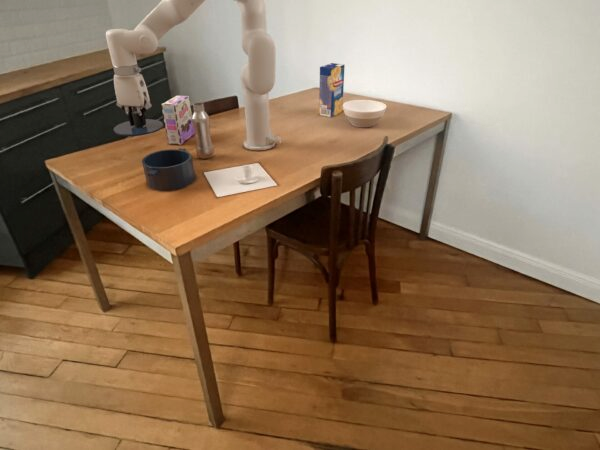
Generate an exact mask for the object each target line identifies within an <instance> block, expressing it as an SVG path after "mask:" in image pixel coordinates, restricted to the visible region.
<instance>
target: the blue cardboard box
mask: <svg viewBox="0 0 600 450" xmlns="http://www.w3.org/2000/svg"><path fill="white" fill-rule="evenodd" d="M344 87H345V64H344V63H334V62H331V63H328V64H325V65H322V66H319V93H318V94H319V95H318V96H319V97H318V98H319V99H318V100H319V102H318V106H319V107H318V115H319V116H323V117H329V118H333V117H335V116H337V115H338V114H341V113H342V112H343V110H344V109H343V106H342V105H343V104H344Z"/></svg>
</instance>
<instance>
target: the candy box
mask: <svg viewBox="0 0 600 450" xmlns="http://www.w3.org/2000/svg"><path fill="white" fill-rule="evenodd" d="M161 111H162V116H163V124H164V127H165V134H166V139H167V143H168V145H177V146H182V145H183V144H185V142H187V141H188V140H189V139H190V138H192V137H193V136H195V132H194V128H193V125H192V121H191V117H192V115H193V112H192V107H191V100H190V96H189V95H175V96H174V97H172V98H170V99H168V100H166V101H165V102H163V103H161Z"/></svg>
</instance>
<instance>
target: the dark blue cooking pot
mask: <svg viewBox="0 0 600 450" xmlns="http://www.w3.org/2000/svg"><path fill="white" fill-rule="evenodd" d="M193 160H194V159H193V155H192V153H191V152H189V151H188V150H187V149H186V148H178V149H176V148H172V149H171V148H170V149H162V150H157V151H154V152H151V153H149V154H147V155H146V156H144V157H143V158H142V160H141V164H142V168H143V173H144V177H145V181H146V185H147V187H148V188H150V189H152V190H154V191H157V192H172V191H177V190H180V189H185V188H186V187H189V186H190V185H192V184H193V183H194V182H195V180H196V173H195V167H194V161H193Z"/></svg>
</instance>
